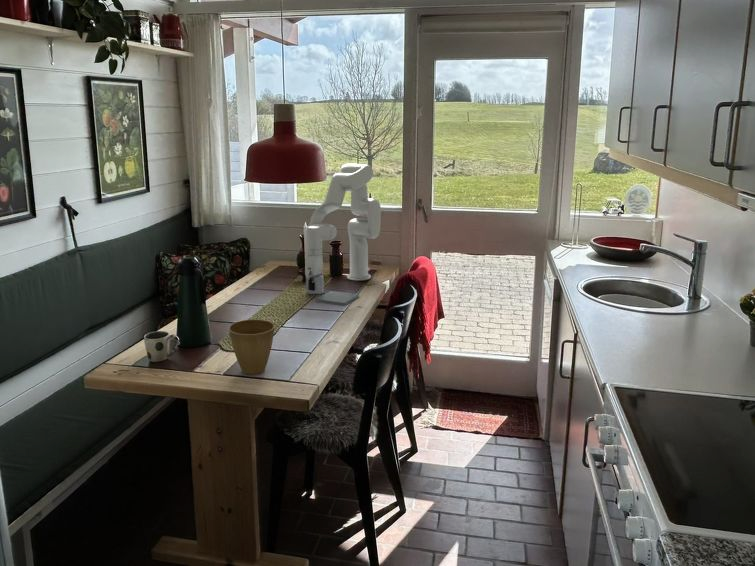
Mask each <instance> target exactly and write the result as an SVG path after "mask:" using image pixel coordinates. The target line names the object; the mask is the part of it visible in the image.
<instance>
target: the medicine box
mask: <svg viewBox="0 0 755 566" xmlns="http://www.w3.org/2000/svg"><path fill="white" fill-rule="evenodd" d="M311 276H312V275H311ZM324 277H325V276H324V275H323V274H322V275H317V276H315V278H314V282H315V290H314V291H312V290H309V287H308V280H307V278H306V277H305V289H306V290H305V292H306V295H308V294H310V295H311V294H312V295H324V292H325V289H324V288H325V285H324ZM311 278H312V277H311Z"/></svg>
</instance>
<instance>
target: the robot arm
mask: <svg viewBox="0 0 755 566" xmlns="http://www.w3.org/2000/svg"><path fill="white" fill-rule="evenodd" d="M373 175H374V171H373V168H372V166H370V165H369V164H363V163H345V164H343V165H342V166H341V169H340V172H336V173H334V174H333V175H332V177H331V180H330V182H329V186H328V189H327V193H326V196H325V200H324V201H323V202H322V203H321V204H320V205H319V206H318V207H317V208H316V209H315V210H314V211H313V213H312V215H311V217H310V221H309V224H308V226H307V227H306V229H305V234H306V237H305V238H306V242H305V244H306V246H305V247H306V256H305V257H306V258H305V264H304V265H305V267H304V275H305V279H306V278H307V280H308V287H309V290H312V291H314V290H315V282H314V278H315V276H317V275H323V272H324V261H323V241H331V240H333V239H335V238H336V237H337V234H338V230H337V227H336V226H335V225H333V224H329V223H323V220H324V217H326V216H327V215H328V214H330V213H332V212H334V211H336V210H339V209H341V208H342V205H343V202H344V200H345V195H346V192H350V212H351V213H352V215H355V216H358V217H355V218H352V219H350V220H349V221H348V223H347V233H348V239H349V241H348V242H349V274H346V278H347V279H348V280H351V281H367V280H370V279H371V277H372V275H371V274H369V271H370V270H371V268H370V267H369V244H368V241H367V239H373V240H374V239H376V238H377V237H379V235H380V232H381V223H382V222H381V219H382V218H381V215H382V214H381V213H382V208H381V207H382V206H381V203H380V201H378V199H375V198H372V197H368V186H367V184H368V183H369V182H370V181H371V180H372V178H373ZM359 217H366V218H359ZM311 275H312V276H311ZM311 277H312V278H311Z"/></svg>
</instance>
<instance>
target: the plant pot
mask: <svg viewBox="0 0 755 566" xmlns="http://www.w3.org/2000/svg"><path fill="white" fill-rule="evenodd" d="M228 332H229V336H230V340H231V341H230V342H231V344H232V345H231V346H232V348H233V352H234V355H235V357H236V360H237V363H238V365H239V367H240V369H241V372H242V373H243V374H244V375H247V374H249V375H248V376H256V375H255V374H257V375H260V374H259V373H261V374H263V373H264V372H265V370H266V368H267V365H268V362H269V358H270V354H271V350H272V347H273V342H274V341H273V340H274V333H275V324H274V322H272V321H269V320H265V319H243V320H239V321H235V322H233V323H231V324H230V325H229V326H228ZM262 372H263V373H262Z"/></svg>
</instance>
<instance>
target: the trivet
mask: <svg viewBox="0 0 755 566" xmlns="http://www.w3.org/2000/svg"><path fill="white" fill-rule="evenodd" d="M359 298H360V294H357V293H349V292H342V291H334V290H330V291H328V292H326V293H323V294H321V295H320V296H319V297H317V298H315V302H316V303H325V304H331V305H337V304H338V305H340V306H347V305H348V304H350V303H351V302H353V301H354V299H355V300H356V299H359Z"/></svg>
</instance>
